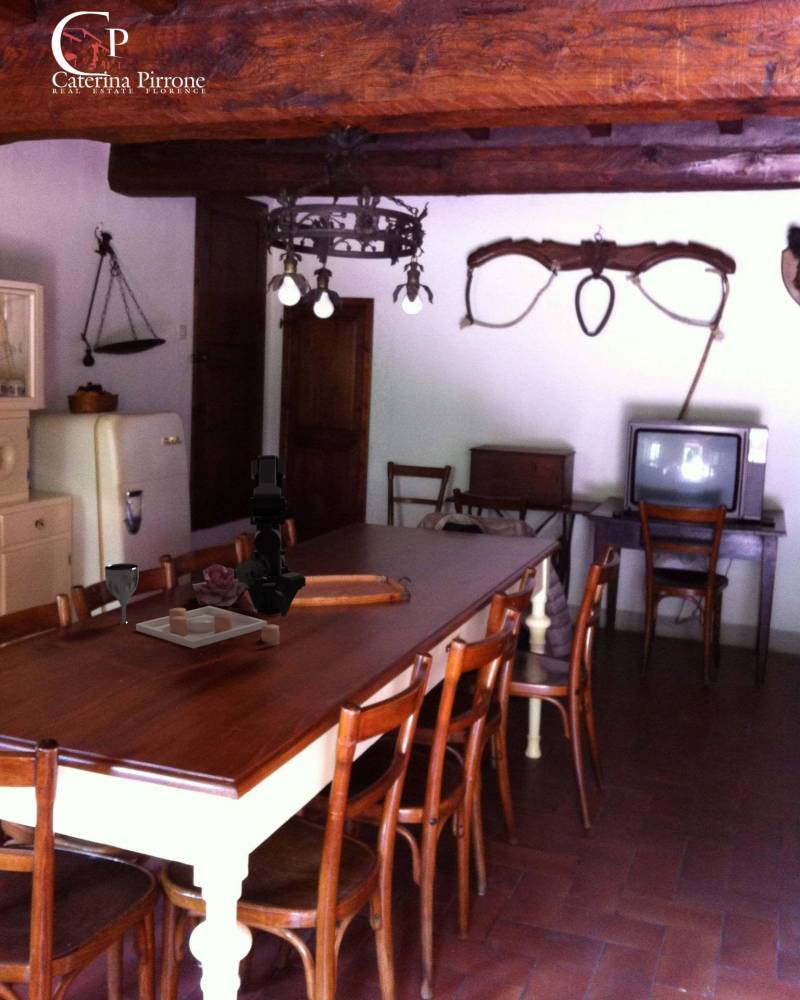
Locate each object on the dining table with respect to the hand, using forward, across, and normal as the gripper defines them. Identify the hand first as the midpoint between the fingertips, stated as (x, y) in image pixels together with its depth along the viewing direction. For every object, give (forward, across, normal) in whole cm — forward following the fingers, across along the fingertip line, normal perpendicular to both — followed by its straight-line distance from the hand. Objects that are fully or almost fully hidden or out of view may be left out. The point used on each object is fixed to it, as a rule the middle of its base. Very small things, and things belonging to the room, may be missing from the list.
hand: (270, 612), depth 231 cm
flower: (+8, -37, +15) cm, 41 cm away
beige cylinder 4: (+6, -25, -7) cm, 27 cm away
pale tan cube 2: (+7, 0, 0) cm, 7 cm away
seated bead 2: (+6, -19, -12) cm, 23 cm away
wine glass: (+8, -38, -14) cm, 41 cm away
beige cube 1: (+6, -12, -4) cm, 14 cm away
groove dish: (+7, -19, -5) cm, 21 cm away
